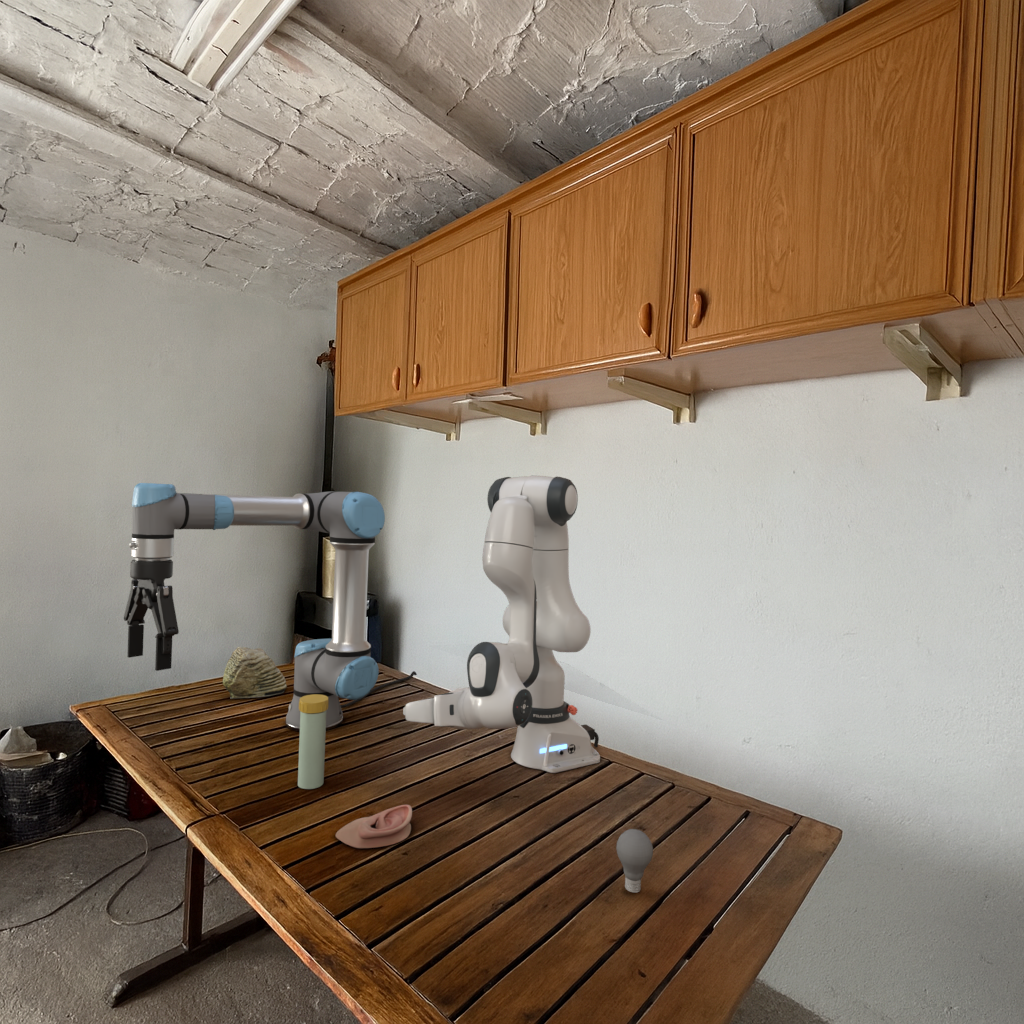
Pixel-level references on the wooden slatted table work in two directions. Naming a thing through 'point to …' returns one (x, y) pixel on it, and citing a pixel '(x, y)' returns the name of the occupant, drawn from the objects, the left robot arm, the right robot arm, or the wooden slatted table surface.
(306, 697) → the lid
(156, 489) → the left robot arm
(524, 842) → the wooden slatted table surface
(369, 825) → the anatomical model
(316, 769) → the pale green bottle
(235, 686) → the fossil
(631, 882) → the light bulb
